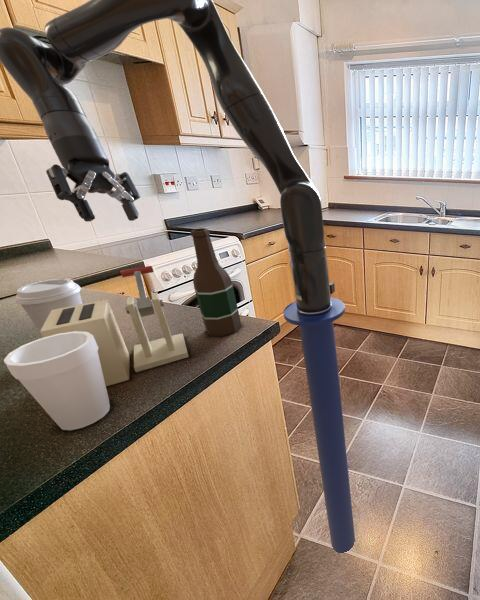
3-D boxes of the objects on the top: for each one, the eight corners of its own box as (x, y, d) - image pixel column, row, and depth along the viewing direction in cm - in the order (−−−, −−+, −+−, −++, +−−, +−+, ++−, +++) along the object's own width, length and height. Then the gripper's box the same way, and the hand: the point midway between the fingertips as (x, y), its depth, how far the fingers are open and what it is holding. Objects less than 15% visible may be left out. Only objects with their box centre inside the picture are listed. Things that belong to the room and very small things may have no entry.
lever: (122, 275, 72) (119, 267, 70) (153, 270, 75) (150, 262, 73) (131, 319, 65) (127, 311, 64) (164, 311, 68) (161, 303, 67)
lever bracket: (135, 350, 72) (114, 295, 67) (183, 337, 77) (167, 285, 72) (135, 372, 65) (112, 313, 60) (188, 357, 70) (171, 301, 65)
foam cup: (116, 389, 60) (88, 325, 55) (127, 414, 55) (97, 345, 49) (43, 416, 54) (4, 348, 49) (46, 448, 48) (2, 374, 43)
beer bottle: (227, 319, 86) (204, 224, 76) (248, 325, 82) (227, 227, 73) (198, 332, 79) (169, 231, 69) (221, 340, 76) (194, 235, 66)
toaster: (79, 369, 66) (50, 309, 61) (129, 355, 70) (107, 298, 65) (72, 396, 59) (39, 330, 53) (129, 379, 63) (103, 317, 58)
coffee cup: (112, 344, 75) (86, 281, 69) (57, 366, 67) (22, 297, 61) (91, 334, 79) (64, 274, 73) (36, 354, 71) (2, 289, 65)
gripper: (41, 125, 60) (85, 213, 62) (124, 141, 73) (157, 213, 76) (19, 144, 62) (62, 227, 65) (103, 156, 76) (136, 225, 78)
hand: (113, 219), depth 70 cm, fingers open, 8 cm apart
